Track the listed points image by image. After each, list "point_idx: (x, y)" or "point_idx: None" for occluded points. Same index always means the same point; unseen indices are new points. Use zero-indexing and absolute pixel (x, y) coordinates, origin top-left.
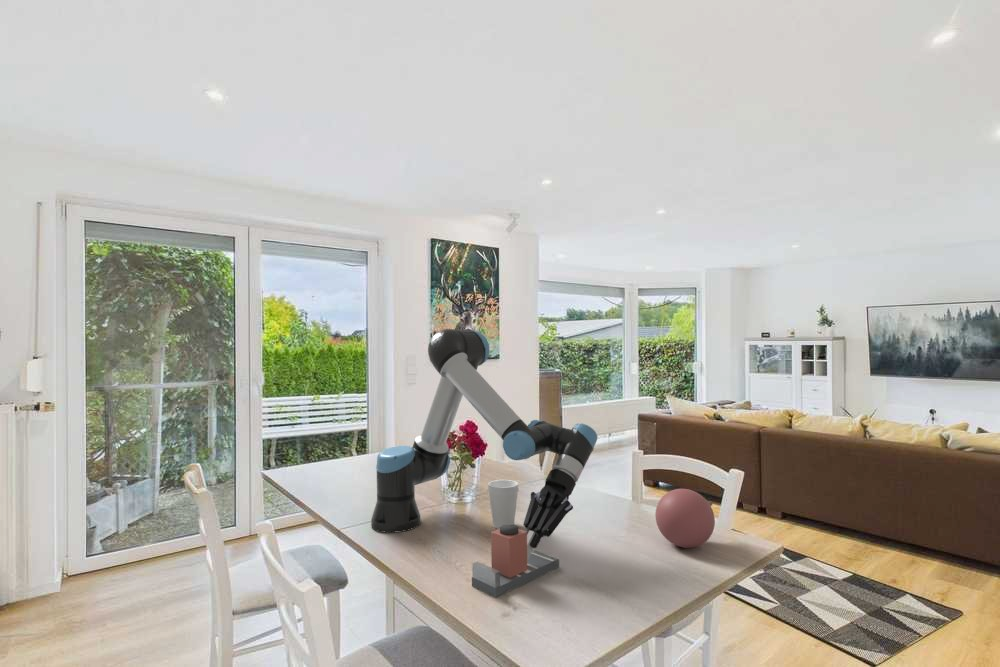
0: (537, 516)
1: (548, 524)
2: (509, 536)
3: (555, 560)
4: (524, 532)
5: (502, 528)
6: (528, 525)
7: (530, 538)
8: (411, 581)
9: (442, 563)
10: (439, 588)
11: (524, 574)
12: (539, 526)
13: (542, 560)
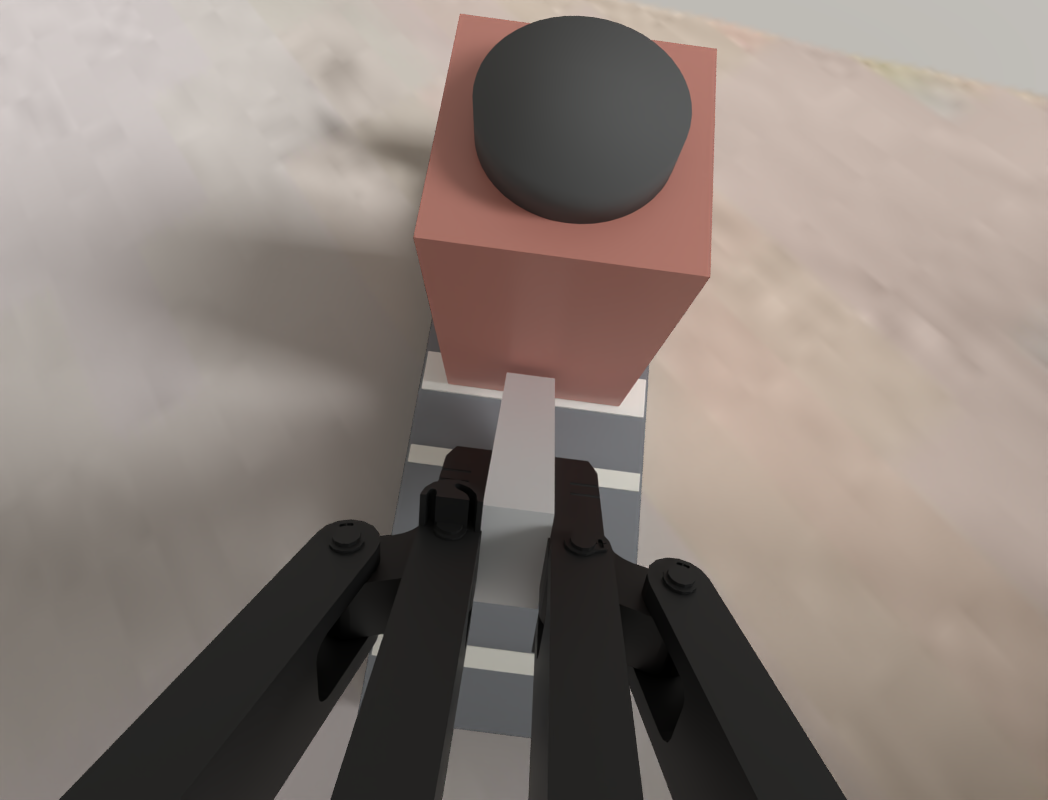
0: (546, 697)
1: (283, 601)
2: (490, 49)
3: (366, 668)
4: (424, 207)
5: (624, 48)
6: (633, 592)
7: (492, 453)
8: (904, 71)
9: (989, 287)
10: (749, 88)
11: (434, 333)
12: (435, 567)
13: None
